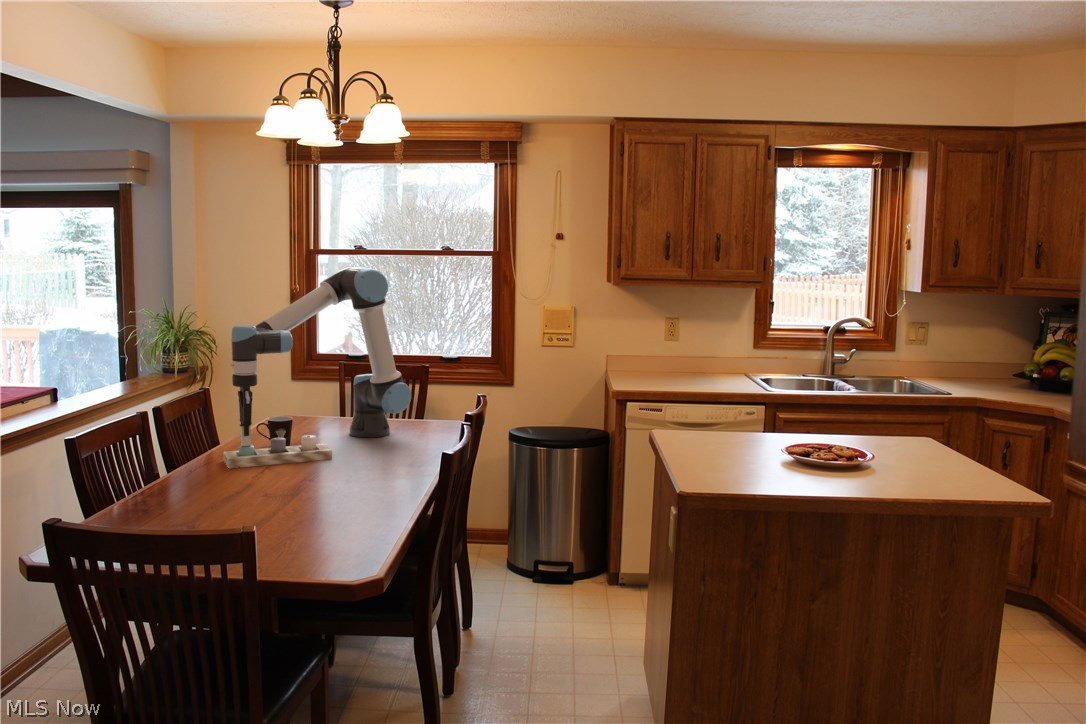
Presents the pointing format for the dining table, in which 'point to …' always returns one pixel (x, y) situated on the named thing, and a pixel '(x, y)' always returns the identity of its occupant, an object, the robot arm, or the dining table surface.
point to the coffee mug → (279, 428)
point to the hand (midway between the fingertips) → (246, 445)
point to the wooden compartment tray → (277, 456)
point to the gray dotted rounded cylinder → (278, 445)
